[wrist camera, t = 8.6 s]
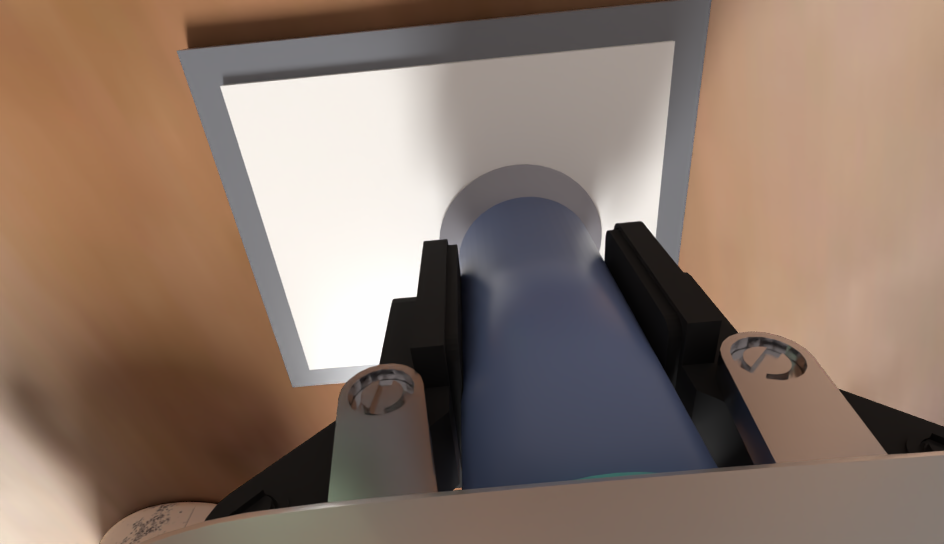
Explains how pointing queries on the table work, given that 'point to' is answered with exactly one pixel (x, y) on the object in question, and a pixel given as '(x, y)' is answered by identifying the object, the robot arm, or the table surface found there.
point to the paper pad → (438, 150)
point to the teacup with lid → (157, 522)
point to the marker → (558, 360)
